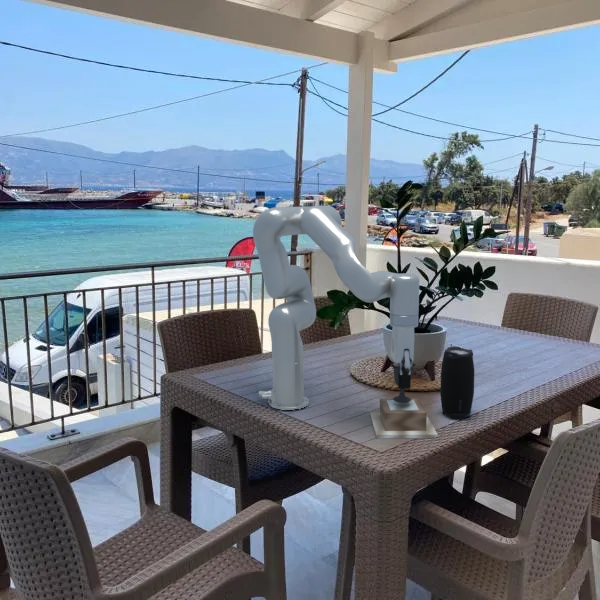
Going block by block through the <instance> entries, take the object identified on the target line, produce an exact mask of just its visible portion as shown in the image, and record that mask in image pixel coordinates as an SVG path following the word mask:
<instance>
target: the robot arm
mask: <svg viewBox="0 0 600 600" xmlns="http://www.w3.org/2000/svg"><path fill="white" fill-rule="evenodd" d="M341 224H342V217H341V214H340V212H339V211H338V210H337V209H336V208H335V207H333V206H331V205H314V206H313V205H312V206H275V207H270V208H267V209H266V210H264V211H262V212H260V214H259V215H258V216H257V217H256V220H255V221H254V224H253V227H252V228H253V229H252V238H253V242H254V245H255V248H256V253H257V255H258V258H259V259H258V260H259V265H260V269H261V274H262V279H263V281H264V282H263V283H264V287H265V291H266V293H267V294H268V296H269V297H270V298H271V299H273V300H283V299H285V300H286V302H283V303H280V304H278V305H276V306H275V307H274V308H273V309H272V310H271V311H270V313H269V315H268V318H267V319H268V323H267V324H268V328H269V329H268V330H269V333H270V334H269V335H270V338H271V340H270V341H271V355H272V356H271V357H272V358H271V360H272V361H271V362H272V364H271V365H272V366H271V367H272V368H271V369H272V388H271V389H268V390H258V397H259V398H261V399H262V400H268V401H267V404H268V403H269V405H271V406H272V407H275V408H278V409H284V410H293V409H299V410H302V409H301V408H303V409H304V407H305V408H306V406H307V407H308V406H309V405H310V399H309V398H308V397H307V396H305V387H304V385H305V376H304V375H305V374H304V372H305V371H304V369H305V367H304V364H305V363H304V362H305V361H304V344H303V340H302V337H301V333H300V332H301V331H303V330H305V329H308V328H310V327H311V326H313V324H314V323H315V321H316V318H317V307H316V303H315V298H314V294H313V290H312V286H311V281H310V277H309V275H308V273H307V272H306V271H305V269H304V268H302V267H301V266H299V265H297V264H290V262H289V257H288V252H287V249H286V247H285V245H284V244H283V242H282V241H281V237H284V236H285V237H286V236H288V237H289V236H296V235H307V236H308V237H309V238H310V240H312V241H313V242H314V243H315V245H317V246H318V247H319V249H321V250H322V252H324V254H326V256H327V257H328V258H329V259H330V260H331V262H332V265H333V269H334V270H335V271H336V274H337V276H338V277H339V280H340V281H341V282H342V283H343V285H344V286H345V287H346V288H348V290H350V292H351V293H352V294H353V295H354V296H355V297H356V298H358V299H359V300H361V301H362V302H365V303H371V304H372V303H375V302H377V301H380V300H382V299H383V300H384V299H386V298H389V299H390V301H389V326H390V327H392V329H391V343H390V357H391V359H392V361H393V362H395V363H396V364H398V363H399V367H400V374H398V386H397V387H398V389H399V390H400V389H404V390H410V389H411V384H412V383H411V382H412V381H411V380H412V379H411V378H412V374H411V370H410V364H412V363H414V360H415V328H418V326H419V312H420V311H419V310H420V308H419V305H420V304H419V303H420V278H419V276H418V275H417V274H414V273H396V272H391V271H386V270H377V271H374V272H370V271H369V270H368V269H367V268H366V267H365V266H364V265H363V264H362V263H361V262H360V260H359V259H358V258H357V256H356V254H355V243H356V242H355V238H353V236H352V235H350V234H349V232H348V231H346V229H344V228H343V227H342V226H341ZM401 361H404V363H401ZM402 365H404V367H403V368H402ZM269 405H268V406H269ZM293 411H294V410H293Z"/></svg>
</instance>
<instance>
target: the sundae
mask: <svg viewBox="0 0 600 600" xmlns="http://www.w3.org/2000/svg"><path fill="white" fill-rule="evenodd" d="M401 363H404V361H401ZM390 366H391V367H392V369H393V377H394V378H393V379H394V383H395V385H396V386H397V387H398V374H400V367H399V363H398V364H396V363H395V362H394V361H393V362H391V363H390ZM403 367H404V365H402V368H403ZM415 367H416V363H414V362H413V363H412V364H410V370H411V375H412V373H413V370H414V368H415ZM399 390H400V391H399V394H398V396H394V397H393V398H392V399H393V400H394V401H396V402H399V403H407V402H410V401H411V399H412V398H411V397H409V396H407V395H406V393H405V389H399Z"/></svg>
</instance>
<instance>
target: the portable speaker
mask: <svg viewBox="0 0 600 600" xmlns="http://www.w3.org/2000/svg"><path fill="white" fill-rule="evenodd" d="M440 368H441V369H440V402H441V404H440V405H441V409H442V415H443V416H445V415H447V416H449V418H450V419H452V420H454V419H455V421H457V419H459V420H458V421H462V419H463V420H466V418H467V417H468V416H469V415H471V412H472V408H473V401H474V396H475V365H474V352H473V350H472V349H466V348H463V347H460V346H454V345H453V346H450V347H447V348H446V349H445V350H444V353H443V357H442V362H441V367H440Z"/></svg>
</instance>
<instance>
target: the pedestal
mask: <svg viewBox="0 0 600 600" xmlns="http://www.w3.org/2000/svg"><path fill="white" fill-rule="evenodd" d="M410 399H411V401H410V402H407V403H399V402H396V401H394V400H393V398H379V412H377V411H376V412H373V411H372V412H369V416H370V420H371V423H372V427H373V430H374V434H376V435H375V438H376V439H437V438H436V437H438V433H437V431H436V429H435V427H434V425H433V424H432V421H431V420H430V418H429V416H428V415H427V413H428V412H427V411H426V409H425V408H424V405H423V403H422V402H421V400H420V399H419V398H410ZM433 437H434V438H433ZM438 438H439V437H438Z"/></svg>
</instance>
